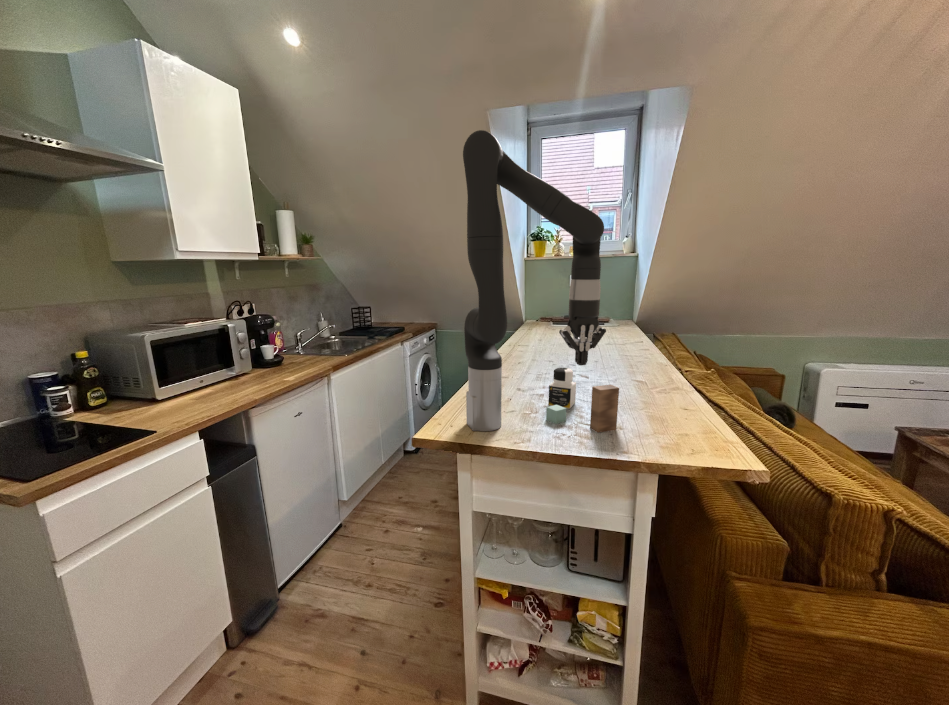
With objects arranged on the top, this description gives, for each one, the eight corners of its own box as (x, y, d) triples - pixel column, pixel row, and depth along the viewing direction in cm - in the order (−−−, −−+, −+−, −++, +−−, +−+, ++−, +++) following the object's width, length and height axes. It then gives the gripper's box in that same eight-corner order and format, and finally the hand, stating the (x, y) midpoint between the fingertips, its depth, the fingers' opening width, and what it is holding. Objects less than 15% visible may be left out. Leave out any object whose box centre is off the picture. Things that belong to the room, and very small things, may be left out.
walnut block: (597, 432, 108) (600, 390, 106) (589, 427, 112) (592, 386, 109) (616, 429, 110) (619, 387, 108) (608, 425, 113) (610, 384, 111)
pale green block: (555, 424, 115) (556, 410, 114) (546, 419, 118) (546, 407, 117) (565, 421, 117) (566, 408, 116) (556, 417, 120) (556, 404, 119)
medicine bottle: (548, 406, 130) (549, 370, 127) (554, 399, 136) (555, 365, 134) (569, 409, 127) (571, 372, 124) (575, 402, 133) (577, 367, 130)
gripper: (569, 299, 96) (566, 370, 99) (616, 298, 100) (611, 365, 103) (553, 297, 103) (551, 363, 106) (598, 296, 107) (594, 359, 110)
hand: (581, 364), depth 105 cm, fingers closed
